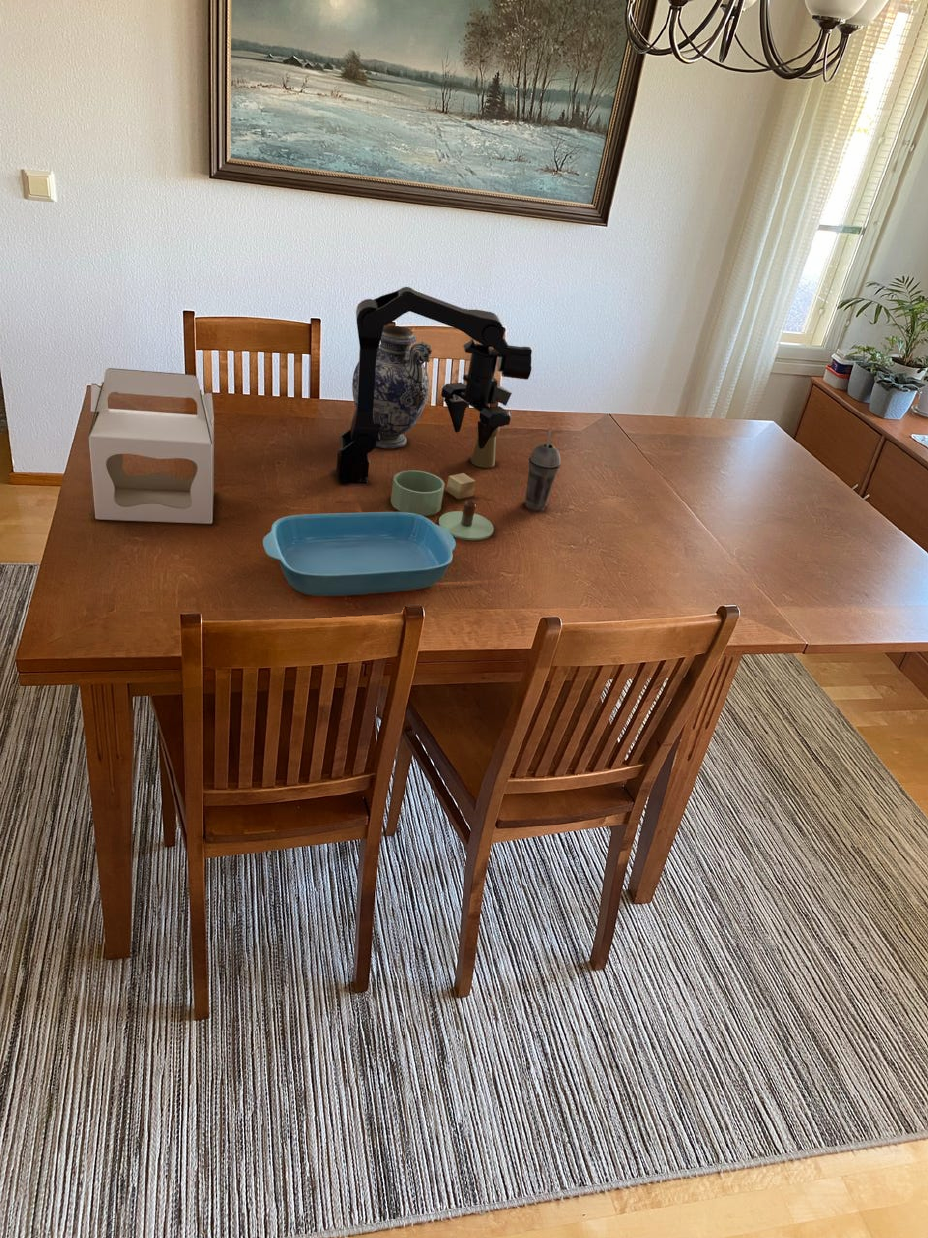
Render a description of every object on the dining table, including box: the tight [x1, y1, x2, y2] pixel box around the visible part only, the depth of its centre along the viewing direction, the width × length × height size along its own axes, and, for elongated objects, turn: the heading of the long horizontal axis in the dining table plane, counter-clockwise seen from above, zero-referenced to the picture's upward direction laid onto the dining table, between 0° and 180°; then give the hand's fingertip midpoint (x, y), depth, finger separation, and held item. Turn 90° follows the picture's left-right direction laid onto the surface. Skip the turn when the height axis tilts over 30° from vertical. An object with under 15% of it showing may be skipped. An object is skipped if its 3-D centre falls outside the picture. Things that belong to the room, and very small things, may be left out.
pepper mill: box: [470, 427, 501, 469], centre depth 221 cm, size 6×6×11 cm
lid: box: [438, 500, 495, 541], centre depth 191 cm, size 12×12×6 cm
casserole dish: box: [262, 511, 457, 597], centre depth 170 cm, size 37×22×7 cm, turn 110°
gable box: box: [88, 367, 215, 525], centre depth 172 cm, size 22×13×28 cm, turn 102°
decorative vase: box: [351, 324, 433, 450], centre depth 218 cm, size 21×19×28 cm
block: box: [446, 472, 476, 500], centre depth 205 cm, size 4×4×4 cm
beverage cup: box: [524, 427, 561, 512], centre depth 202 cm, size 7×7×20 cm
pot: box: [390, 469, 446, 517], centre depth 197 cm, size 11×11×6 cm
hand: (469, 439), depth 203 cm, fingers open, 9 cm apart
